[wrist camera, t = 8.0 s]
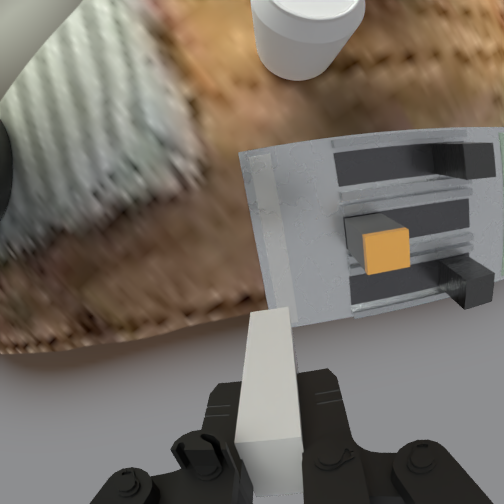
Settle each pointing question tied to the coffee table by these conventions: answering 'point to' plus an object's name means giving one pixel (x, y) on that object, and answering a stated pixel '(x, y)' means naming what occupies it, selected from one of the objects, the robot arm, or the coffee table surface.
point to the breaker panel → (371, 202)
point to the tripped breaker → (378, 243)
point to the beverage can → (303, 34)
